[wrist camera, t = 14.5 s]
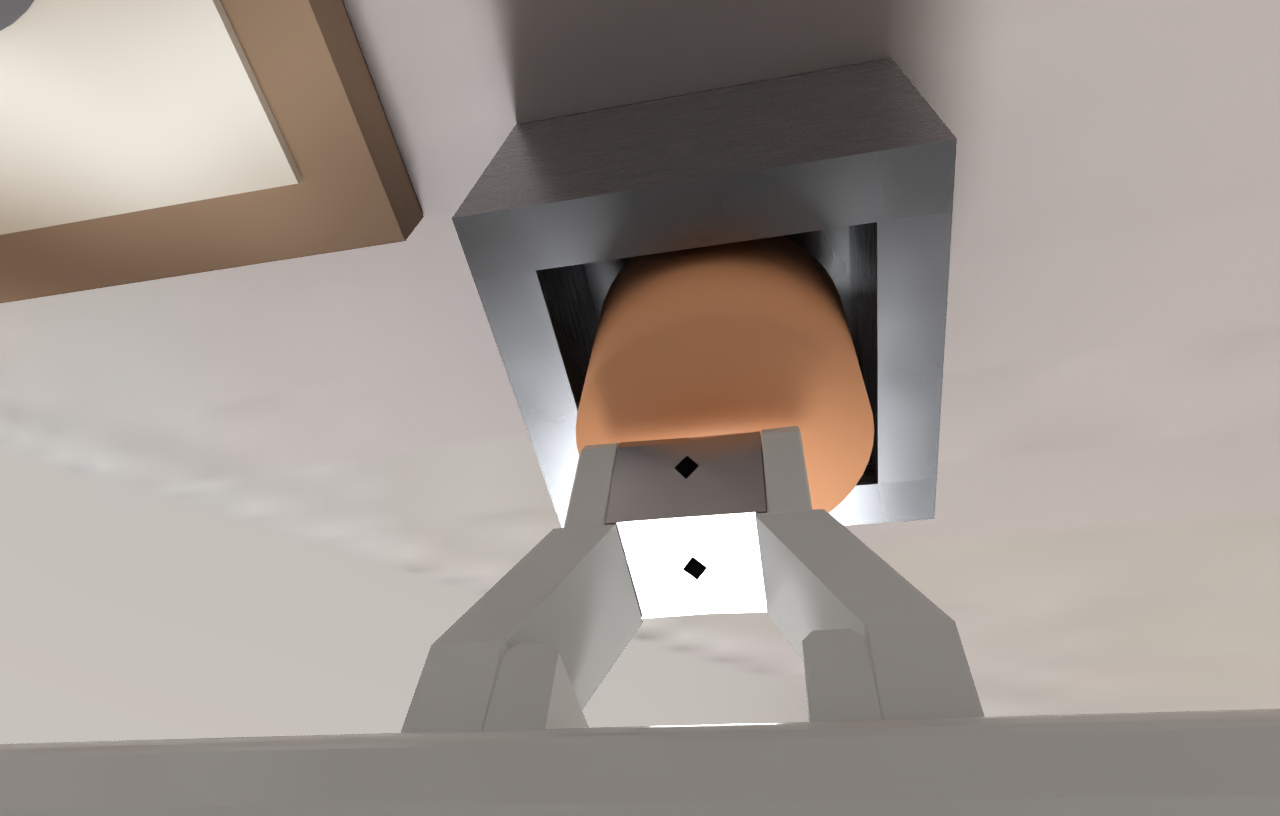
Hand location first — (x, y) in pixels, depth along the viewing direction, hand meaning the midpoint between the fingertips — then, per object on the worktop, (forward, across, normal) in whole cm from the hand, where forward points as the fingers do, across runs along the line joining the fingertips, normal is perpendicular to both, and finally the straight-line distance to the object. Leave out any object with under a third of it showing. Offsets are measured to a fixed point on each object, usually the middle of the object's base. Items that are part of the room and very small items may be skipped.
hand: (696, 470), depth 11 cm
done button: (+4, 0, 0) cm, 4 cm away
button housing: (+7, 0, 0) cm, 7 cm away
